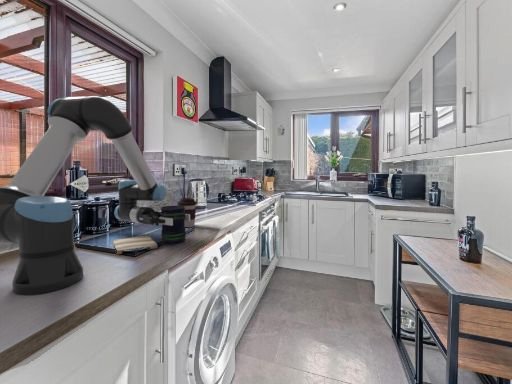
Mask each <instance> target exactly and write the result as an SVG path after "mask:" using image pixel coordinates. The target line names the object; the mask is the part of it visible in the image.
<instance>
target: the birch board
mask: <svg viewBox="0 0 512 384" xmlns="http://www.w3.org/2000/svg"><path fill="white" fill-rule="evenodd" d="M113 244H114V246H115V248H116V250H117V253H116V255H123V254H122V251H124V250H130V249H136V248H142V247H150V249H149V250H155V249H158V244H157V242H156V241H155V240H154V239H153V238H152V237H151V236H150V235H142V236H141V235H140V236H134V237H132V236H131V237H126V238H118V239H112V245H113ZM114 246H113V247H114ZM115 248H114V249H115ZM116 250H115V251H116Z"/></svg>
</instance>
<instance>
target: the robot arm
mask: <svg viewBox="0 0 512 384" xmlns="http://www.w3.org/2000/svg"><path fill="white" fill-rule="evenodd" d="M47 118H48V119H47V123H48V126H49V127H48V128H47V130H46V132H45V133H44V134H43V136H42V137H41V139H40V140H39V141H38V143H37V144H36V145H35V147H34V148H33V149H32V151H31V152H30V154H29V155H28V156H27V158H26V159H25V161H24V162H23V164H22V165H21V167H19V169H18V171H17V172H16V173H15V174H14V176H13V178H12V179H11V180H10V182H8V184H7V185H4V186H0V243H9V244H18V253H19V255H18V256H19V261H18V263H17V267H16V270H15V273H14V275H13V279H12V283H11V285H12V292H13V293H14V294H16V295H17V294H18V295H27V296H28V295H29V296H31V295H40V294H46V293H51V292H54V291H58V290H62V289H64V288H67V287H69V286H72V285H74V284H76V283H77V282H79V281H81V280H82V279H83V277H84V268H83V267H84V266H83V265H82V263H81V262H80V259H79V257H78V255H77V253H76V250H75V233H74V231H75V230H74V212H73V207H72V203H71V202H70V201H69V200H68V199H66V198H64V197H60V196H48V195H47V196H46V195H45V194H46V193H47V191H48V189H49V188H50V186H51V185H52V183H53V181H54V180H55V178H56V177H57V175H58V174H59V172H60V170H61V169H62V167H63V165H64V164H65V162H66V160H67V159H68V157H69V155H70V154H71V152H72V151H73V149H74V147H75V146H76V145H77V143H78V142H82V141H85V140H86V138H87V136H88V135H89V133H90V132H91V131H100V132H102V133H103V135H104V136H105V137H106V139H107V140H110V141H111V142H112V144H113V146H114V148H115V149H116V151H117V153H118V154H119V155H120V158H121V159H122V161H123V162H124V164H125V166H126V167H127V169H128V171H129V173H130V175H131V176H132V178H133V179H121V180H119V181H118V188H117V189H118V190H117V191H118V205H117V206H116V207H115V208H114V212H113V213H114V217H115V218H116V219H117V220H119V221H123V222H130V223H136V224H138V225H140V224H143V225H151V226H153V225H155V226H156V227H157V226H159V225H162V224H164V225H171V226H172V225H173V219H172V218H164V217H161V211H158V210H156V211H155V210H154V209H153V208H152V207H148V206H140V205H138V202H139V201H141V202H143V201H144V202H162V201H164V200H165V198H166V197H167V188H166V187H165V186H164V185H163V184H158V183H157V181H156V180H155V177H154V176H153V173H152V171H151V169H150V167H149V165H148V163H147V162H146V160H145V158H144V155H143V154H142V153H143V152H142V151H141V150H140V148H139V145H138V144H137V142H136V140H135V136H134V135H133V127H132V125H131V123H130V121H129V119H128V118H127V117H126V115H125V114H124V113H123V112H122V110H121V109H120V108H119V107H118V106H116V105H115V104H114V103H112V102H111V101H110V100H109V99H106V98H105V97H101V96H97V95H90V96H65V97H61V98H57V99H55V100H53V101H51V102H50V104H49V105H48V107H47ZM185 220H187V221H190V214H185Z"/></svg>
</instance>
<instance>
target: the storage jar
mask: <svg viewBox="0 0 512 384" xmlns="http://www.w3.org/2000/svg"><path fill="white" fill-rule="evenodd" d="M160 210H161V211H160V212H161V217H164V218H172V219H173V225H172V226H171V225H164V224H161V244H162V245H165V246H177V245H181V244H184V243H185V242H186V236H187V235H186V228H185V207H184V206H179V205H166V206H162V207H160Z"/></svg>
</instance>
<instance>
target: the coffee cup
mask: <svg viewBox="0 0 512 384" xmlns="http://www.w3.org/2000/svg"><path fill="white" fill-rule="evenodd" d="M197 204H198V202H197V201H196V200H195V199H194V198H192V197H184V198H180V199H179V201H177V206H184V207H185V214H190V221H187V220H185V227H189V228H193V227H195V222H196V221H195V220H196V214H197V213H196V210H197V207H196V206H197Z"/></svg>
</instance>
